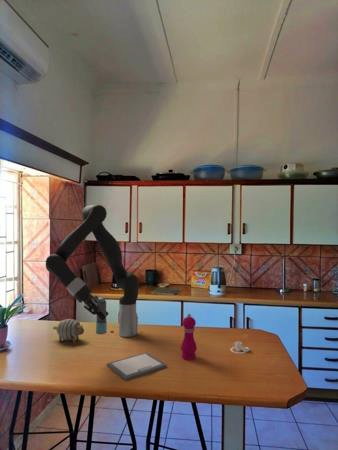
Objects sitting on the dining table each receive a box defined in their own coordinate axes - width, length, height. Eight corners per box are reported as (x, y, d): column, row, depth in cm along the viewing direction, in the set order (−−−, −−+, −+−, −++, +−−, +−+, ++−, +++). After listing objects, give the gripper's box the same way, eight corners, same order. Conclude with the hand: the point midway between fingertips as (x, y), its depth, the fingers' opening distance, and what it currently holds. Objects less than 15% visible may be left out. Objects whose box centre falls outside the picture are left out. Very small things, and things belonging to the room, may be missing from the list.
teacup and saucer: (251, 351, 154) (251, 343, 154) (242, 356, 149) (243, 347, 149) (235, 346, 160) (235, 338, 160) (226, 351, 155) (227, 342, 155)
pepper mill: (198, 355, 148) (198, 312, 148) (194, 361, 141) (194, 316, 141) (183, 353, 150) (183, 310, 150) (178, 359, 144) (179, 315, 143)
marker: (103, 330, 147) (103, 296, 146) (108, 333, 143) (108, 298, 143) (94, 332, 144) (94, 297, 144) (98, 335, 140) (98, 300, 140)
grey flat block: (146, 354, 149) (146, 350, 149) (166, 367, 136) (166, 362, 136) (106, 365, 137) (106, 361, 136) (125, 380, 124) (125, 376, 124)
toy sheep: (79, 345, 159) (80, 323, 159) (47, 343, 160) (47, 321, 160) (87, 337, 169) (87, 316, 169) (57, 336, 171) (57, 315, 171)
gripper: (79, 287, 136) (107, 316, 136) (89, 280, 151) (115, 307, 150) (67, 299, 137) (95, 328, 136) (78, 291, 151) (104, 318, 151)
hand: (105, 316), depth 143 cm, fingers closed on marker, 4 cm apart
